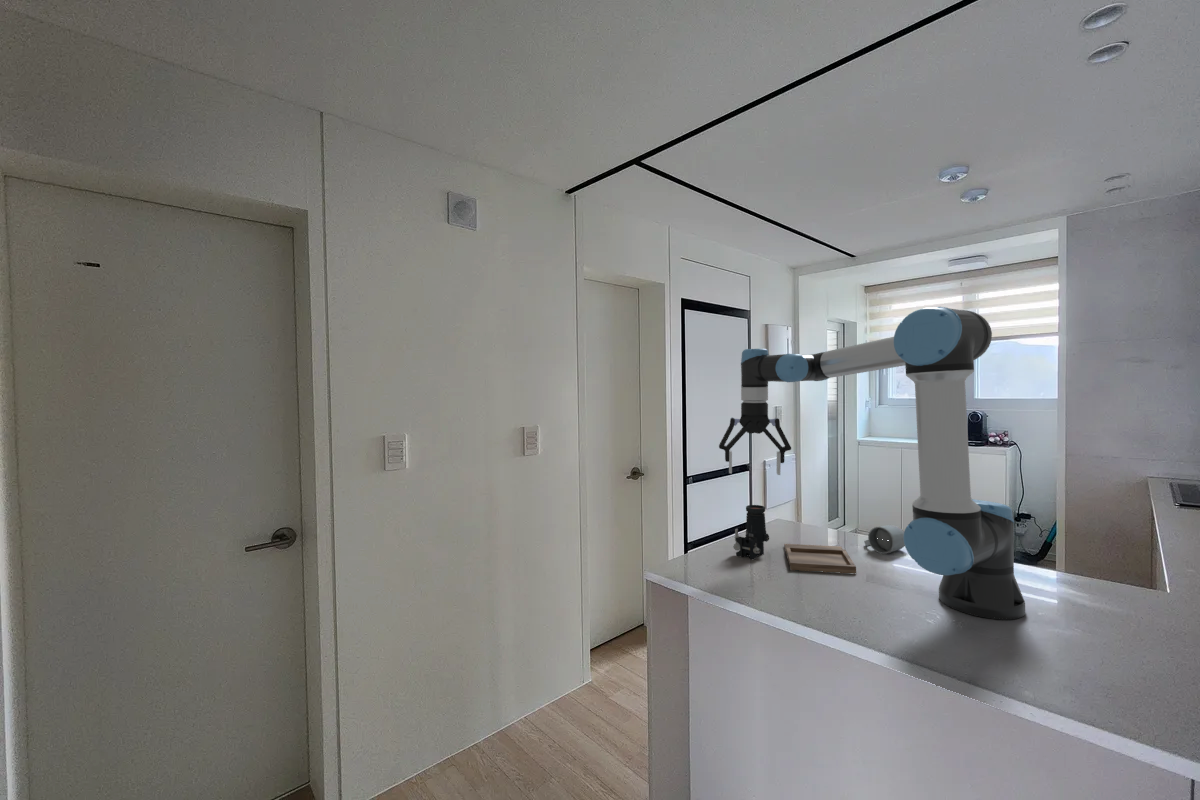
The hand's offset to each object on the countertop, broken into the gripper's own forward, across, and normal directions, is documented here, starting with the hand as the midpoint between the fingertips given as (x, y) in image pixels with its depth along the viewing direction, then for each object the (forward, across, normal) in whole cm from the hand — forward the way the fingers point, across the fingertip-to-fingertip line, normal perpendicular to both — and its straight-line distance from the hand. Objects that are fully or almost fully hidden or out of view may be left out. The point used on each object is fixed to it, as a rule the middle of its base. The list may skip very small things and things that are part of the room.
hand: (754, 473), depth 146 cm
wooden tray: (+23, -17, +3) cm, 29 cm away
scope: (+24, 0, 0) cm, 24 cm away
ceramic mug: (+24, -37, -8) cm, 45 cm away
